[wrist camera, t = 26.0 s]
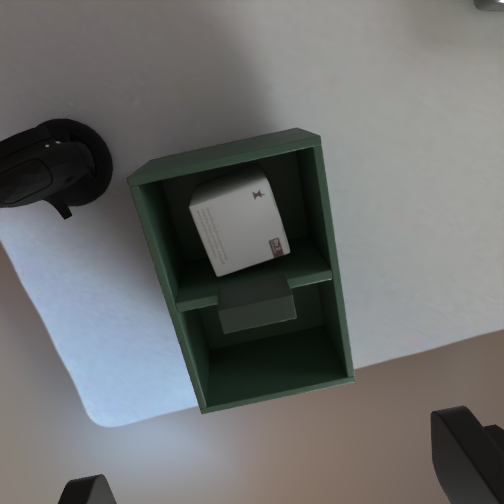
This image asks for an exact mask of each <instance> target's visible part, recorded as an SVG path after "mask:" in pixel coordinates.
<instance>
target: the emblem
mask: <svg viewBox="0 0 504 504" xmlns="http://www.w3.org/2000/svg"><path fill="white" fill-rule="evenodd" d="M473 1H474V4H475V6H476V8H477V9H479V10H486V11H504V0H473Z"/></svg>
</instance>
